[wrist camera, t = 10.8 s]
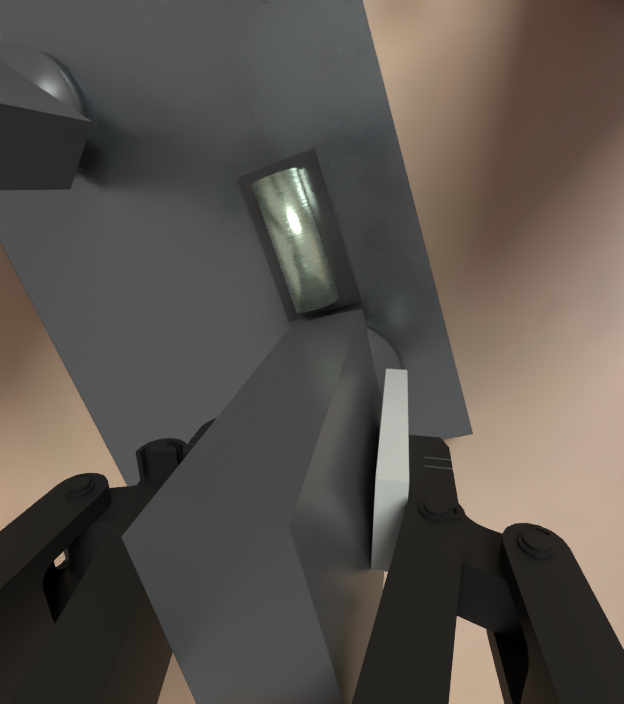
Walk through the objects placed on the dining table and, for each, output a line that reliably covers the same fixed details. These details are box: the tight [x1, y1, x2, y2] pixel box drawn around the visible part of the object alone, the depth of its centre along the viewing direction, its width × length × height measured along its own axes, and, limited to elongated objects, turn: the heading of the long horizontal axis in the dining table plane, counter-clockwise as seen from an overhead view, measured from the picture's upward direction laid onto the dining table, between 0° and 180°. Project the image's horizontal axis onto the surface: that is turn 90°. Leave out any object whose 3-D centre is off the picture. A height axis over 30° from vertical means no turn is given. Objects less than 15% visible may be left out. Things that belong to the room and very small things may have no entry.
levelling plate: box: [0, 0, 473, 486], centre depth 19 cm, size 22×18×4 cm
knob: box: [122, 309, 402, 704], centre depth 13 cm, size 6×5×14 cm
